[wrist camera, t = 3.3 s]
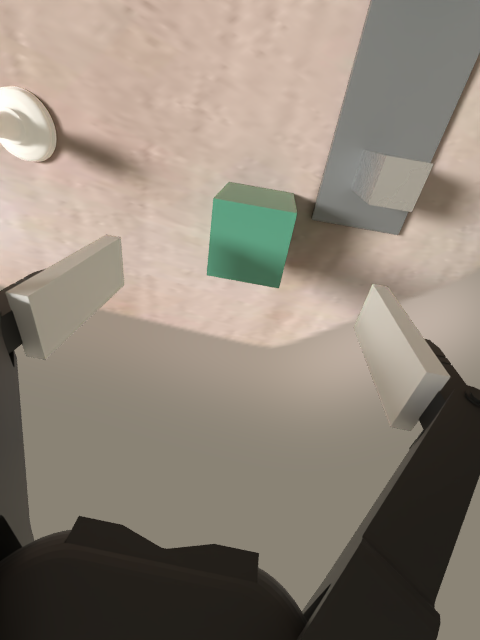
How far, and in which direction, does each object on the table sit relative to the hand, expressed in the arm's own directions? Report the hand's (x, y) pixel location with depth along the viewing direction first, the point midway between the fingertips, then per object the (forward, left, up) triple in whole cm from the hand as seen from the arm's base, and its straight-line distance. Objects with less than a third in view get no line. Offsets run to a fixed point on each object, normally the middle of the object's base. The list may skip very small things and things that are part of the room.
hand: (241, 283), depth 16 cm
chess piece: (-19, +4, -12) cm, 23 cm away
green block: (0, 0, -12) cm, 12 cm away
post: (+8, +5, -12) cm, 15 cm away
